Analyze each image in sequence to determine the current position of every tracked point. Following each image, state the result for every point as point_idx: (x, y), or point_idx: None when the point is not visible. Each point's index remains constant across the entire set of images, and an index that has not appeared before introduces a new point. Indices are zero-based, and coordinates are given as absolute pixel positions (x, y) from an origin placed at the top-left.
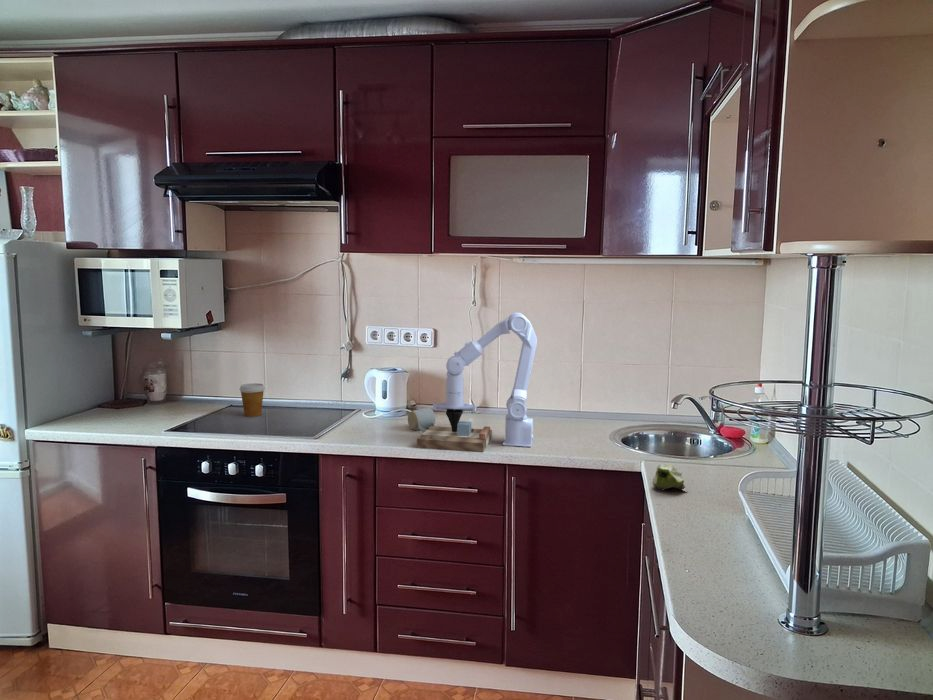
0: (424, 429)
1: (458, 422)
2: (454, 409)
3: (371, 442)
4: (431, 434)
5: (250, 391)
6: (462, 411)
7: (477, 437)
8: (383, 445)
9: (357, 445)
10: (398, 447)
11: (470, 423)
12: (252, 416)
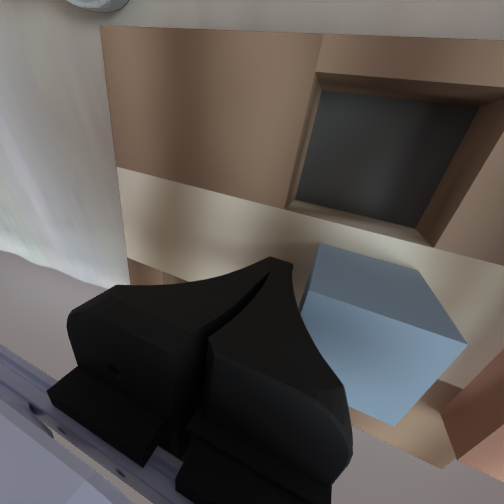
0: (89, 10)
1: (293, 296)
2: (162, 495)
3: (33, 223)
4: (163, 263)
5: None
6: (322, 501)
7: (442, 374)
8: (72, 258)
9: (27, 251)
10: (113, 285)
11: (430, 381)
12: None
